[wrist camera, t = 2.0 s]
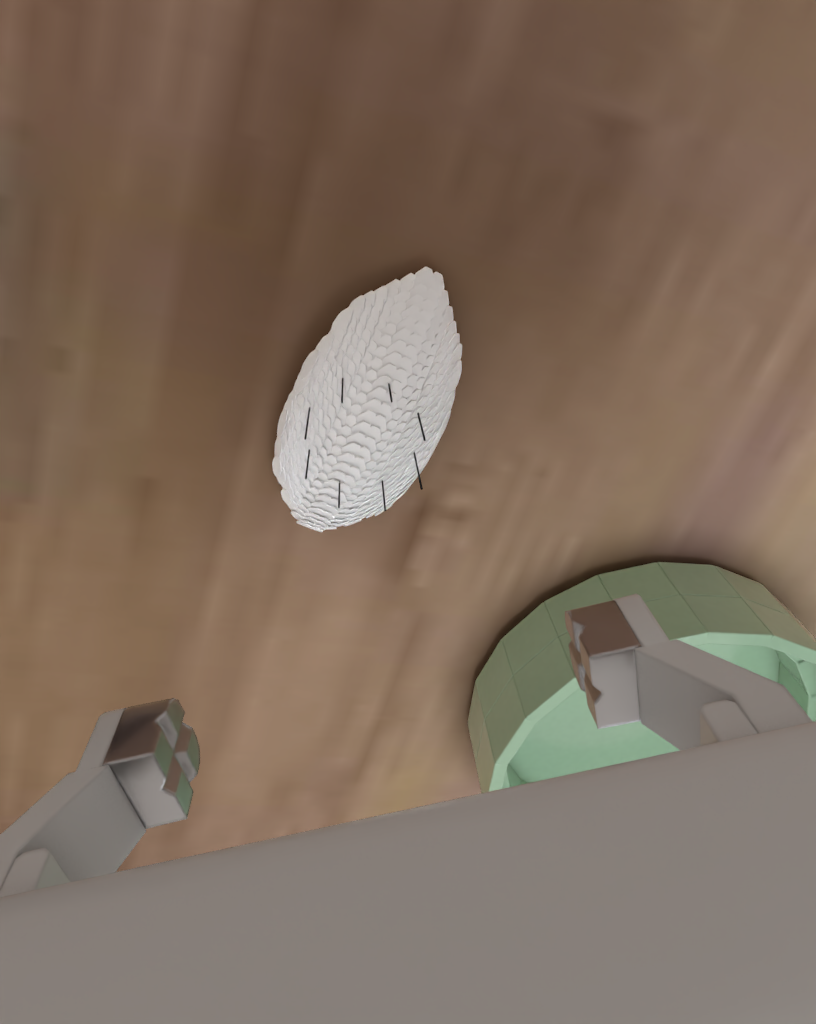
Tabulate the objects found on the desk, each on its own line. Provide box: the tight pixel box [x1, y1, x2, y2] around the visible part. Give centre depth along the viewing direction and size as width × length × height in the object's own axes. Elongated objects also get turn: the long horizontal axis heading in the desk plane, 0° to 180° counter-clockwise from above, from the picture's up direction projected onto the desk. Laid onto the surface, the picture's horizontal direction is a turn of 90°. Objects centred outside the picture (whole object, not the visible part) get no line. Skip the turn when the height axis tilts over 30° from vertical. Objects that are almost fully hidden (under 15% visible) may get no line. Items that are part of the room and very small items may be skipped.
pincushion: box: [272, 266, 462, 532], centre depth 27 cm, size 12×6×6 cm, turn 153°
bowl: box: [468, 562, 816, 793], centre depth 35 cm, size 18×18×6 cm
